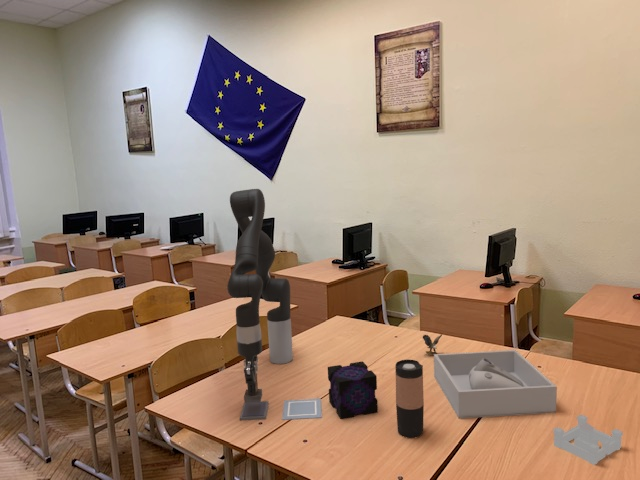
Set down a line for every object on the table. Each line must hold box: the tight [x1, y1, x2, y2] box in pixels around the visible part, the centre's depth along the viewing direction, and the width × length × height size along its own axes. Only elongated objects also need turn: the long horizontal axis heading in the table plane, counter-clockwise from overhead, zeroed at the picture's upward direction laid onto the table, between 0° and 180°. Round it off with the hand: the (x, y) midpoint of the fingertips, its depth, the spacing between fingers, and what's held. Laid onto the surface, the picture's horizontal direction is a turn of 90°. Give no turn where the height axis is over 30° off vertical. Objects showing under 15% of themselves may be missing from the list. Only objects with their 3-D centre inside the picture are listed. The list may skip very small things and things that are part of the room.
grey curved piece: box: [469, 358, 525, 390], centre depth 158 cm, size 16×17×11 cm
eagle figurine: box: [422, 333, 443, 357], centre depth 193 cm, size 8×7×9 cm
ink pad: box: [239, 400, 270, 421], centre depth 154 cm, size 10×8×1 cm
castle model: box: [552, 414, 624, 466], centre depth 126 cm, size 15×15×7 cm
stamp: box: [243, 373, 263, 404], centre depth 153 cm, size 5×5×8 cm
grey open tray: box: [433, 349, 558, 419], centre depth 158 cm, size 29×29×8 cm
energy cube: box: [327, 361, 379, 420], centre depth 154 cm, size 12×12×12 cm
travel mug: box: [394, 359, 425, 439], centre depth 137 cm, size 8×8×20 cm
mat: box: [281, 398, 323, 421], centre depth 154 cm, size 12×12×1 cm
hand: (252, 390), depth 153 cm, fingers closed on stamp, 3 cm apart
